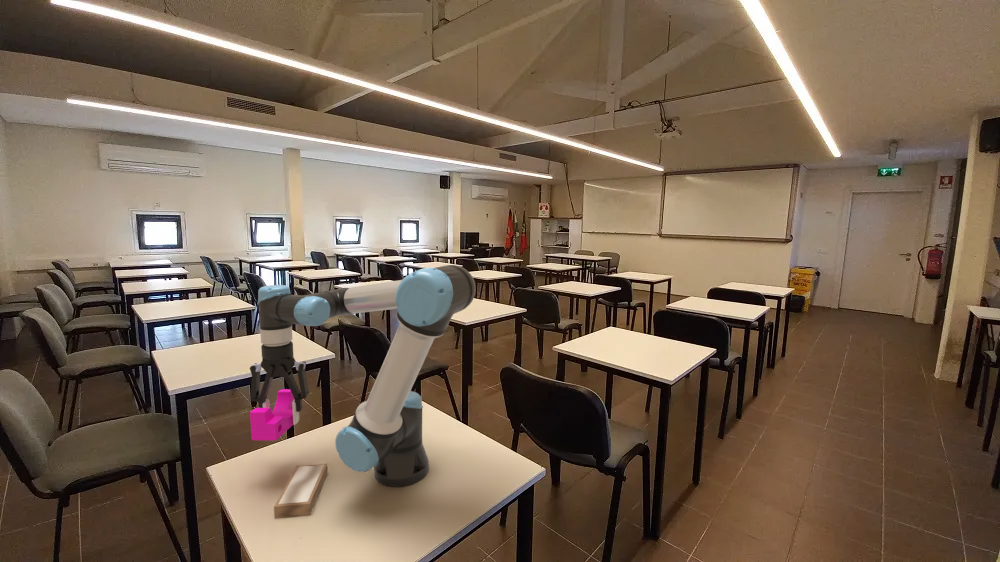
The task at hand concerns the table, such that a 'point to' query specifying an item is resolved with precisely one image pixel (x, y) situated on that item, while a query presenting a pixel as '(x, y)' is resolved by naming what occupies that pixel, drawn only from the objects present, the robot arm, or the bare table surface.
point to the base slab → (301, 491)
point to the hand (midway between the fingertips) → (281, 423)
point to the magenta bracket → (273, 418)
